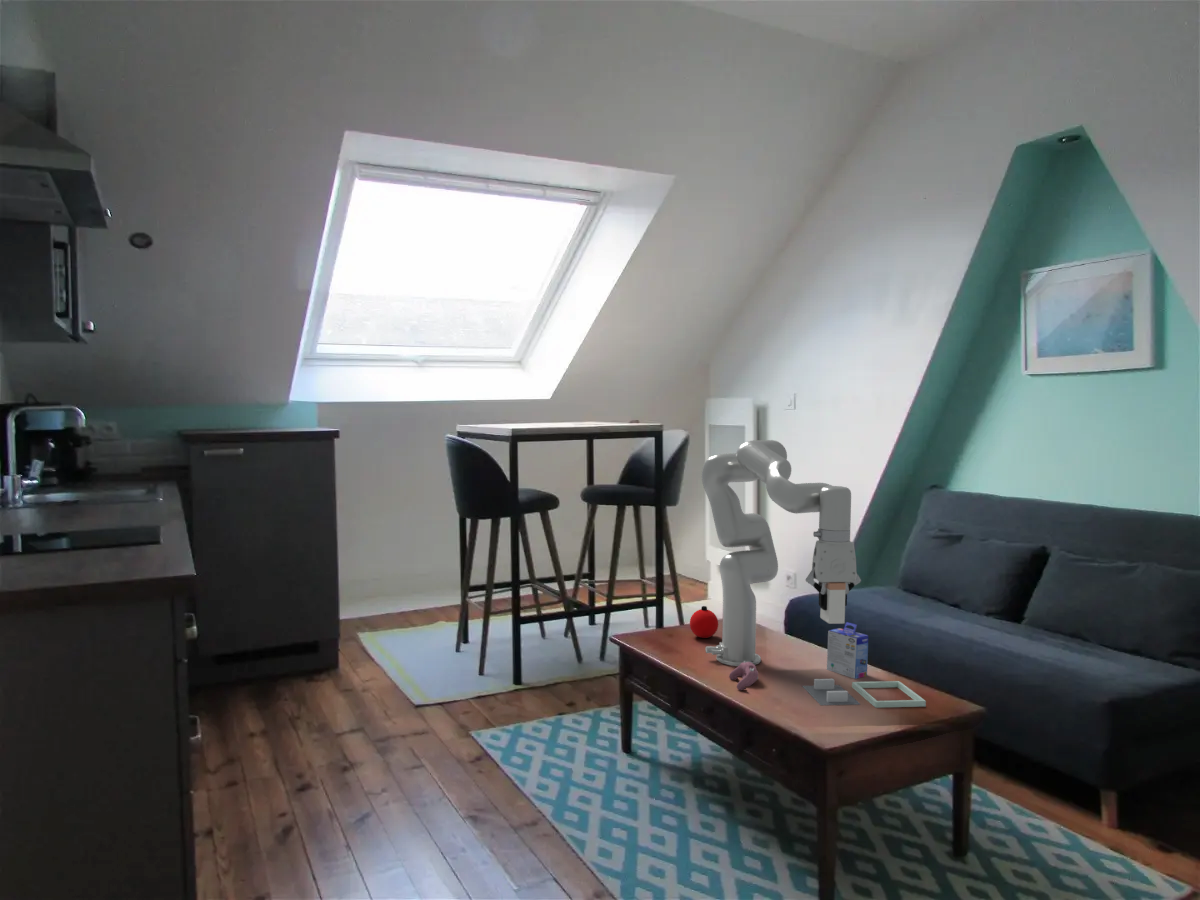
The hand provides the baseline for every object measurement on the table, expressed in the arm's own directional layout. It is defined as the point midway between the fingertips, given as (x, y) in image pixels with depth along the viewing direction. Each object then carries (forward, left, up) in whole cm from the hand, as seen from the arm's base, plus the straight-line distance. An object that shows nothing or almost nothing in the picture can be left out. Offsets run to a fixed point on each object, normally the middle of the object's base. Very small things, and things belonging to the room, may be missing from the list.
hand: (832, 608), depth 210 cm
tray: (+14, -2, -23) cm, 27 cm away
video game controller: (-19, +12, -24) cm, 33 cm away
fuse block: (0, 0, -23) cm, 23 cm away
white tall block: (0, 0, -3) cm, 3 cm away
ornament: (-20, +57, -23) cm, 65 cm away
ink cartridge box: (+11, +17, -23) cm, 31 cm away
